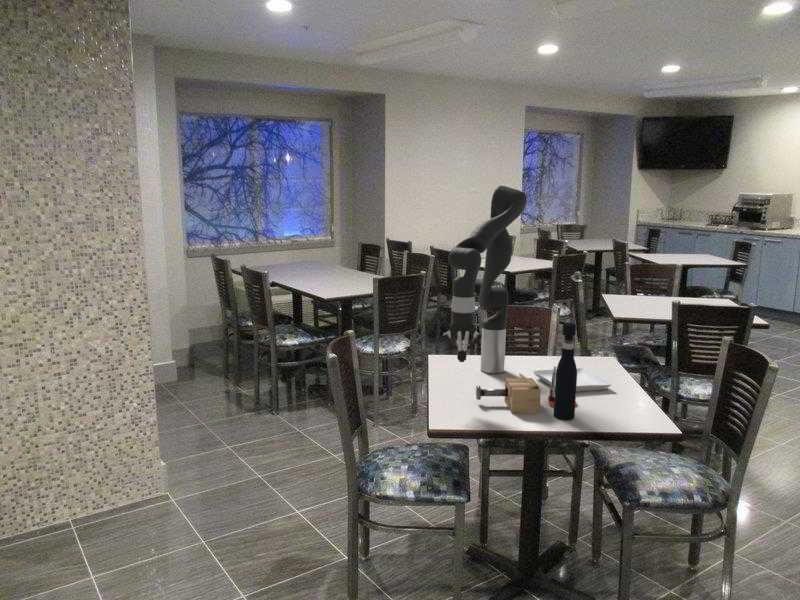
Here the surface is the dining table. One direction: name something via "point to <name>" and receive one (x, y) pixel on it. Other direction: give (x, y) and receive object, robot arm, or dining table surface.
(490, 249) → the robot arm
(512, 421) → the dining table surface
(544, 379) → the salad plate
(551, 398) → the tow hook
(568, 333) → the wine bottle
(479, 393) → the pin
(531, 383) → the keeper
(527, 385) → the block
